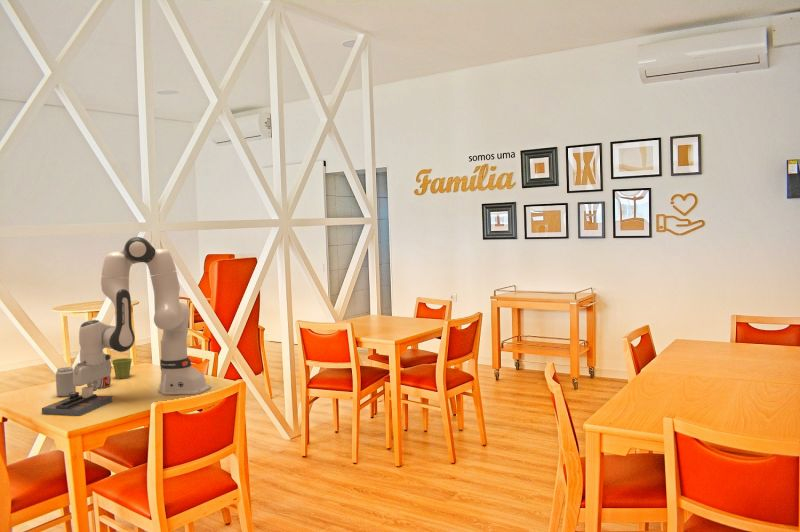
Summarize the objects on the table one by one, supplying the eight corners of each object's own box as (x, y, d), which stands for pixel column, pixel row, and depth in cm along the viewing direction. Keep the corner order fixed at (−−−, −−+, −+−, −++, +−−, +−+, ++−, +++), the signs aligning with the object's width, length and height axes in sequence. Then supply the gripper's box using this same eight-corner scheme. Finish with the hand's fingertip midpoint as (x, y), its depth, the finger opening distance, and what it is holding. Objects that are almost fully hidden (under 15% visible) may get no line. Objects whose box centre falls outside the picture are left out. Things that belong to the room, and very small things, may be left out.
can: (52, 396, 279) (51, 369, 278) (67, 392, 286) (65, 365, 285) (65, 397, 276) (64, 370, 275) (79, 393, 283) (78, 366, 282)
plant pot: (119, 374, 318) (118, 357, 317) (136, 375, 316) (136, 358, 316) (108, 379, 308) (107, 361, 308) (126, 379, 307) (125, 362, 307)
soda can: (104, 389, 290) (103, 363, 289) (90, 388, 292) (89, 362, 291) (114, 385, 297) (113, 359, 296) (100, 384, 299) (99, 359, 298)
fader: (93, 396, 267) (92, 386, 267) (88, 398, 265) (88, 388, 265) (86, 396, 268) (85, 386, 268) (82, 397, 265) (81, 388, 265)
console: (112, 401, 269) (111, 390, 269) (79, 415, 249) (79, 404, 249) (76, 400, 272) (76, 389, 272) (41, 414, 253) (41, 402, 252)
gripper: (81, 364, 258) (83, 398, 259) (113, 354, 278) (114, 385, 279) (67, 364, 260) (69, 397, 261) (100, 354, 280) (102, 385, 281)
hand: (93, 391), depth 270 cm, fingers closed
